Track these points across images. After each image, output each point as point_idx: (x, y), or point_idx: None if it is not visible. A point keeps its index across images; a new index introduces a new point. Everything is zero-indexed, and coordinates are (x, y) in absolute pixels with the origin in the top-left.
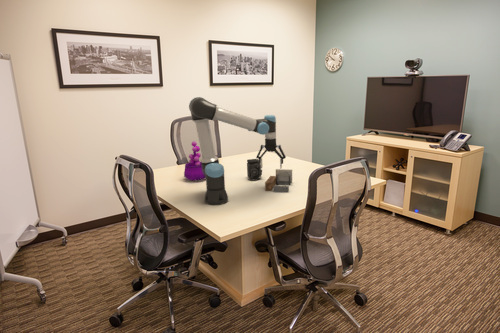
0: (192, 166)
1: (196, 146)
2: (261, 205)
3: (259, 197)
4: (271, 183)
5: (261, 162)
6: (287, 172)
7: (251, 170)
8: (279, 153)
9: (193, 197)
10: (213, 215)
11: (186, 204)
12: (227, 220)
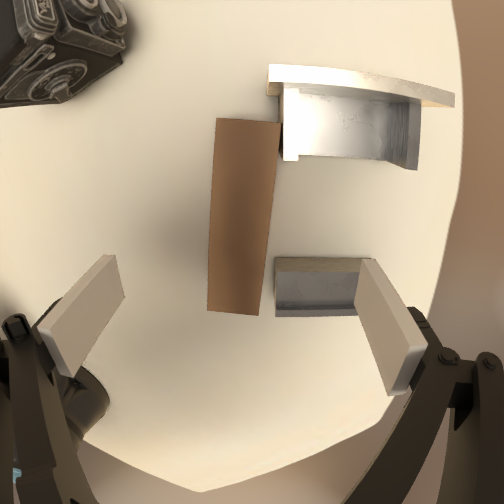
0: None
1: None
2: (242, 421)
3: (211, 367)
4: (258, 309)
5: (90, 345)
6: (398, 97)
7: (29, 98)
8: (423, 455)
9: None
10: (131, 450)
11: None
12: (178, 467)
